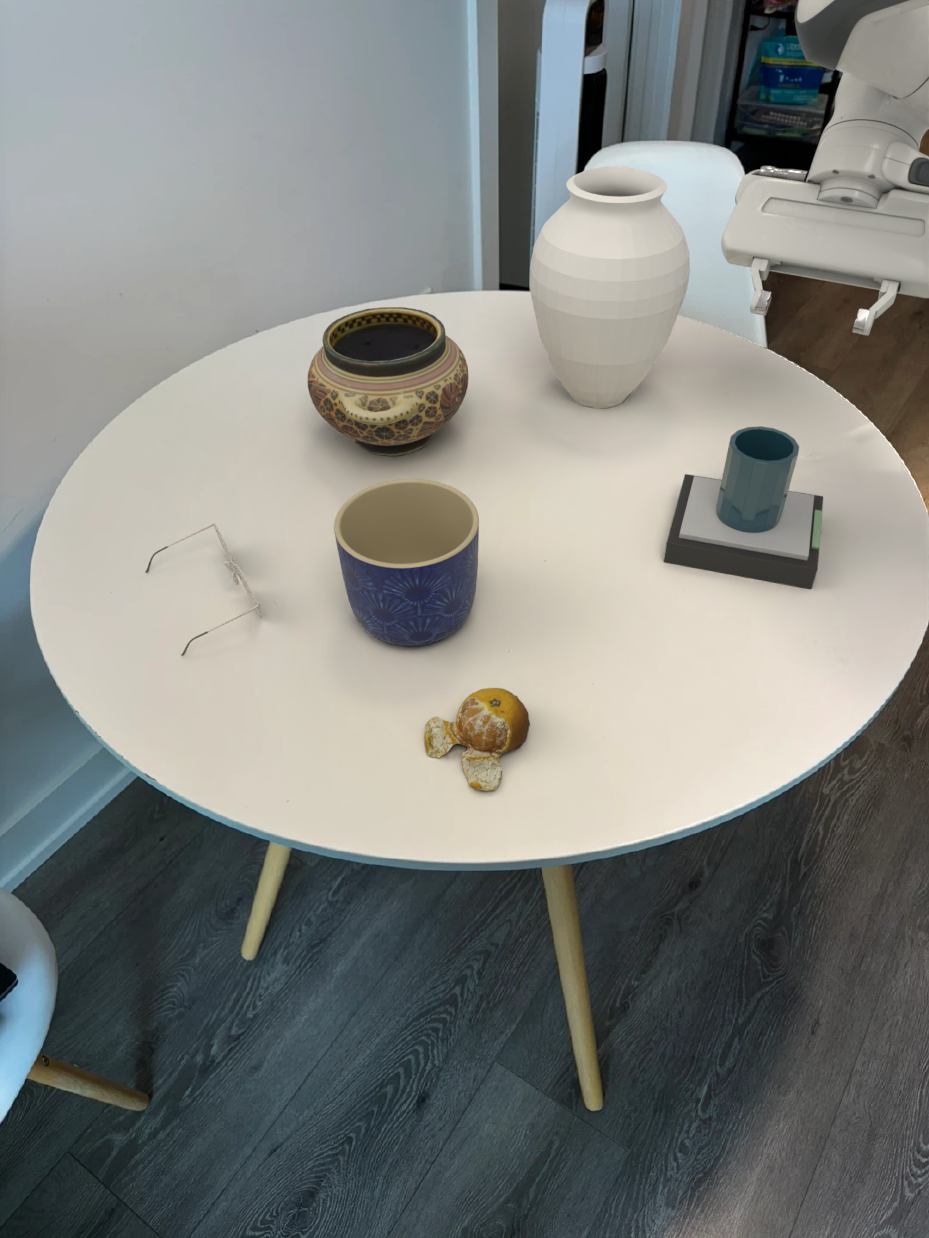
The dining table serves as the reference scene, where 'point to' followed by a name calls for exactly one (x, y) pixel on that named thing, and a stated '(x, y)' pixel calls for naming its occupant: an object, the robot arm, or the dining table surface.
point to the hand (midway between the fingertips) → (808, 322)
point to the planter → (409, 559)
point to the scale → (745, 537)
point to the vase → (608, 282)
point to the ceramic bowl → (388, 378)
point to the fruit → (481, 734)
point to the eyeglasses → (234, 577)
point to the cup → (756, 479)
